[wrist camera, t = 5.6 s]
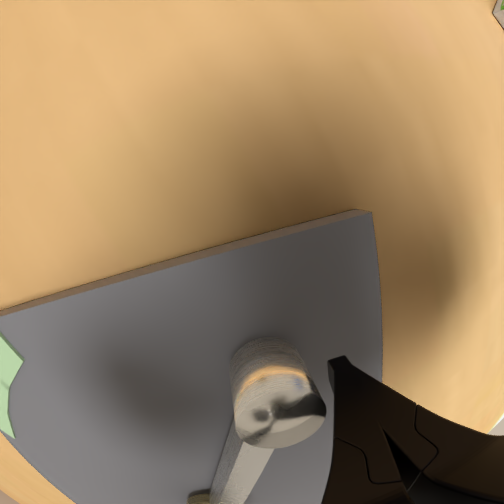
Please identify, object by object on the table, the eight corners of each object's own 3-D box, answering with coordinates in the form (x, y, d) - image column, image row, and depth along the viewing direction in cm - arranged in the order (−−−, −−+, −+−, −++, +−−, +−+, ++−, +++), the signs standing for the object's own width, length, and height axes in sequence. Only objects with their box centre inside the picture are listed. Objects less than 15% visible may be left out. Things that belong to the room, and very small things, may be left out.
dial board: (364, 480, 16) (370, 491, 14) (108, 516, 14) (107, 526, 13) (355, 208, 10) (374, 212, 9) (-50, 327, 9) (-62, 336, 7)
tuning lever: (237, 513, 12) (242, 544, 10) (184, 510, 12) (185, 542, 9) (322, 342, 10) (354, 389, 7) (222, 330, 9) (227, 384, 6)
